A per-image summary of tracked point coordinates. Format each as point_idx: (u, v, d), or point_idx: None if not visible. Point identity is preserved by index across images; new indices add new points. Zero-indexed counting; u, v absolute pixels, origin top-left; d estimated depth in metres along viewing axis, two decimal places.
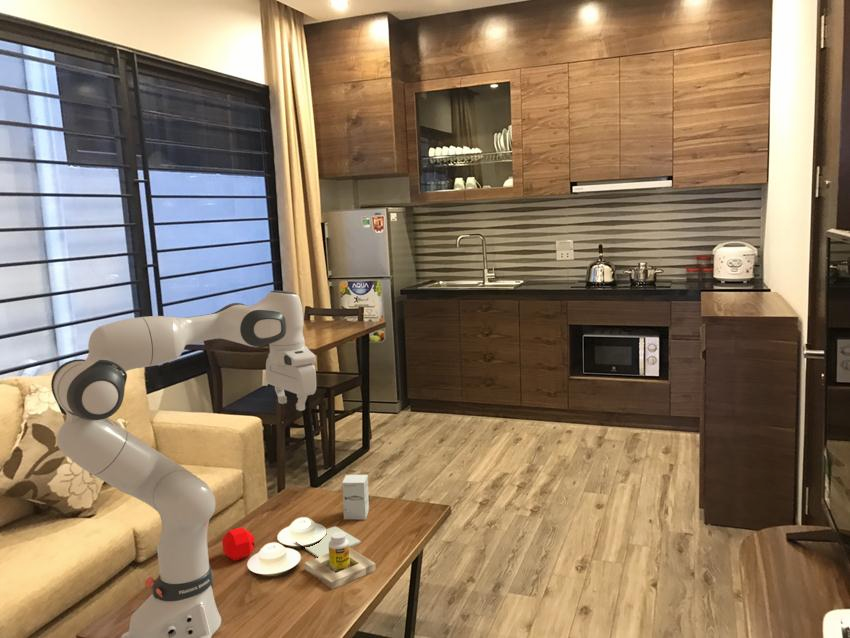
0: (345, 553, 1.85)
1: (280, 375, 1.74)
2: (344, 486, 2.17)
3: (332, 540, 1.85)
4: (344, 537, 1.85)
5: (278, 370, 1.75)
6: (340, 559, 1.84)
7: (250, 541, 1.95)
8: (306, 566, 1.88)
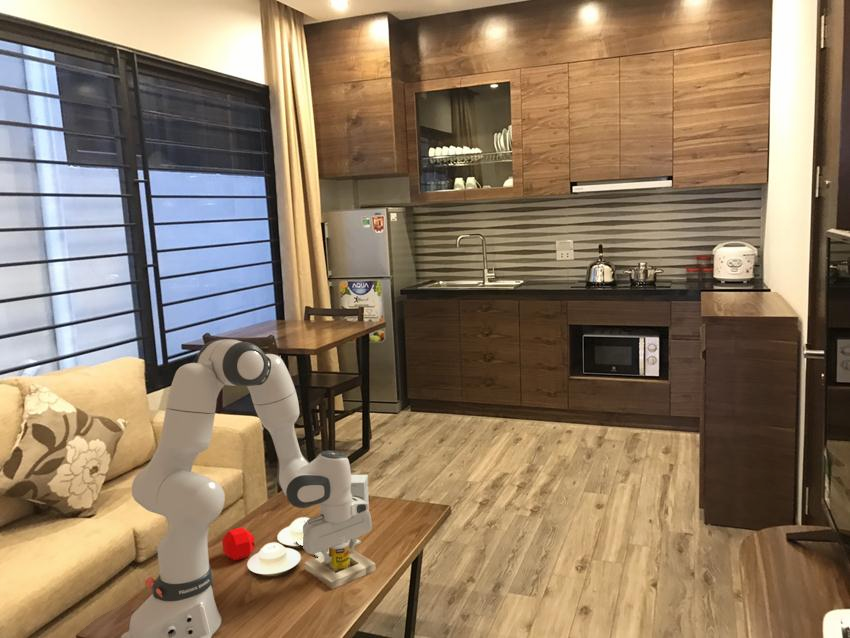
0: (345, 553, 1.85)
1: (336, 532, 1.84)
2: None
3: None
4: (344, 537, 1.85)
5: (331, 530, 1.83)
6: (340, 559, 1.84)
7: (250, 541, 1.95)
8: (306, 566, 1.88)
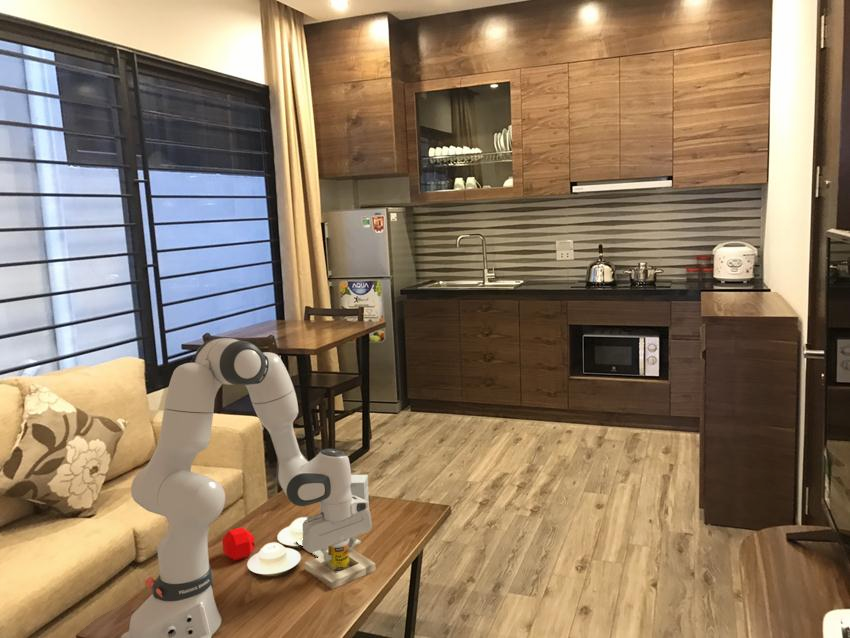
0: (344, 552, 1.84)
1: (336, 531, 1.83)
2: None
3: None
4: None
5: (331, 528, 1.82)
6: (339, 557, 1.84)
7: (250, 541, 1.95)
8: (306, 566, 1.88)
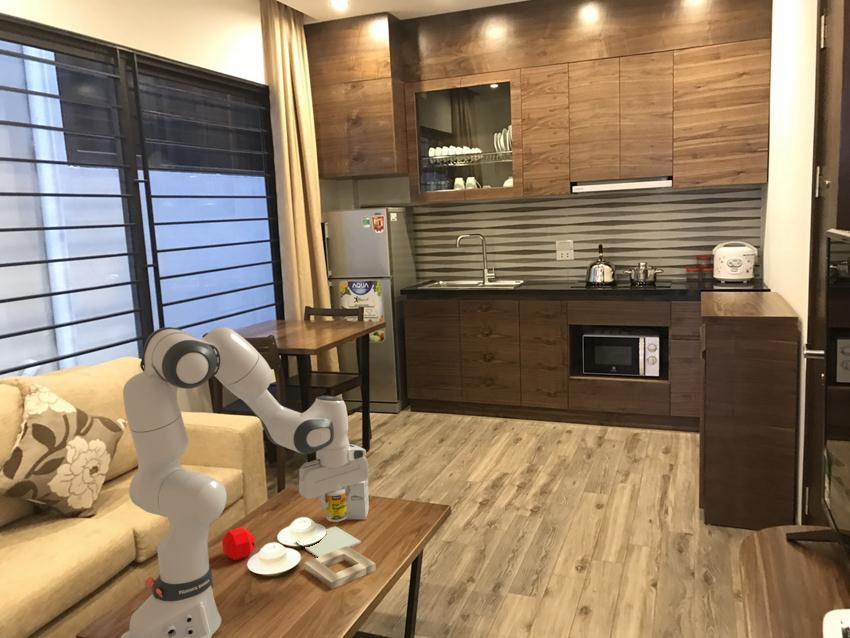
0: (341, 500, 1.83)
1: (333, 478, 1.81)
2: None
3: None
4: None
5: (328, 475, 1.80)
6: (336, 506, 1.82)
7: (250, 541, 1.95)
8: (306, 566, 1.88)
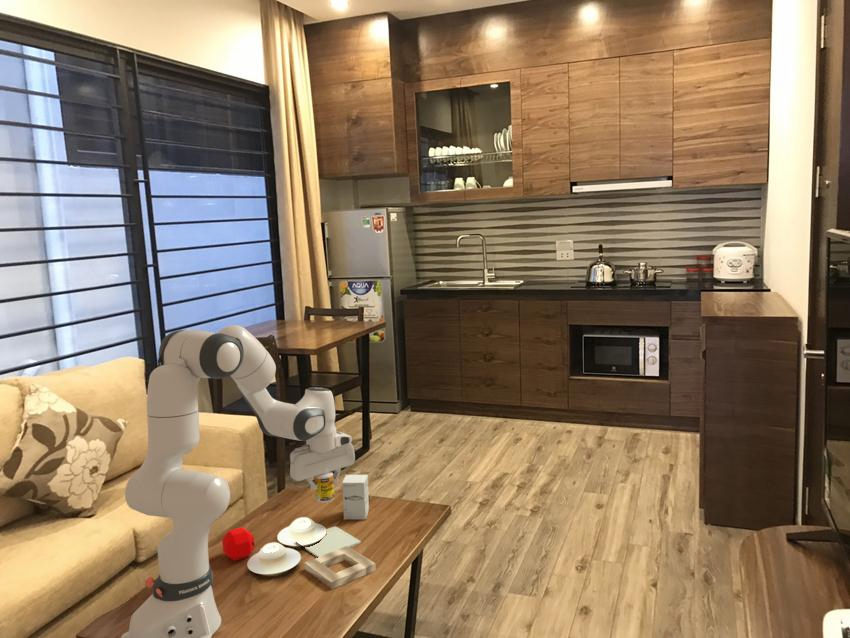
0: (329, 483, 1.99)
1: (321, 462, 1.97)
2: (344, 486, 2.17)
3: None
4: None
5: (316, 460, 1.97)
6: (324, 488, 1.98)
7: (250, 541, 1.95)
8: (306, 566, 1.88)
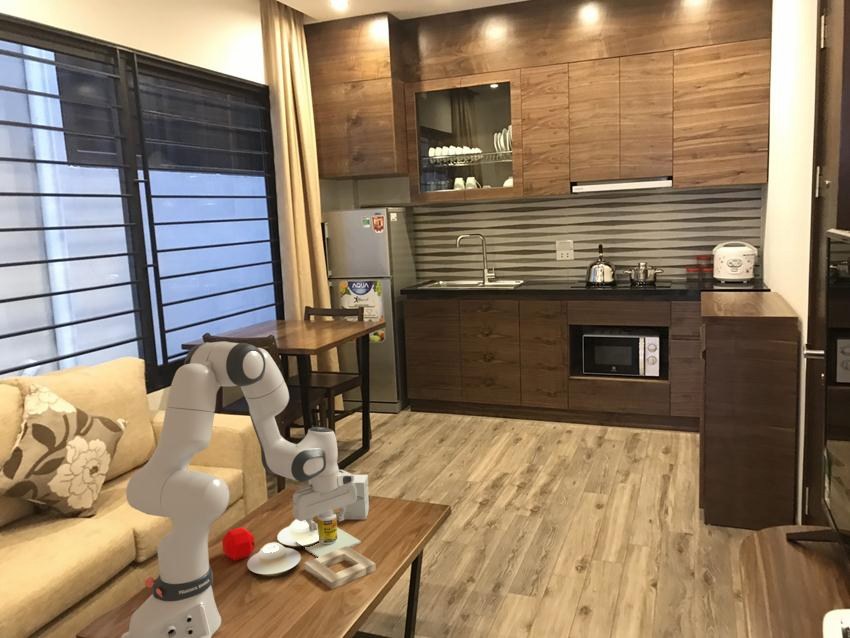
0: (332, 525, 2.01)
1: (324, 501, 1.99)
2: None
3: None
4: (331, 510, 2.01)
5: (319, 499, 1.98)
6: (328, 530, 2.00)
7: (250, 541, 1.95)
8: (306, 566, 1.88)
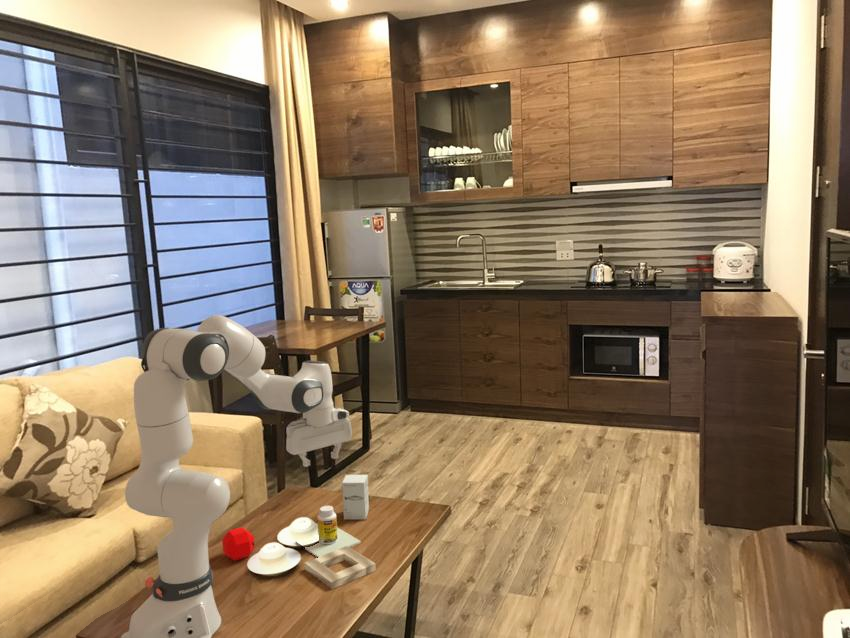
0: (332, 525, 2.01)
1: (318, 436, 1.95)
2: (344, 486, 2.17)
3: (321, 513, 2.01)
4: (331, 510, 2.01)
5: (313, 434, 1.94)
6: (328, 530, 2.00)
7: (250, 541, 1.95)
8: (306, 566, 1.88)
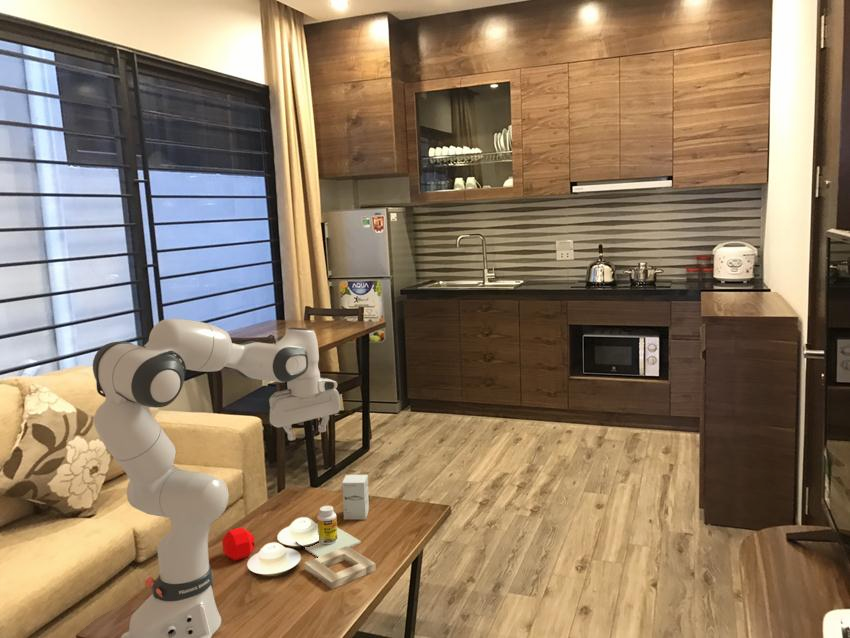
0: (332, 525, 2.01)
1: (304, 408, 1.83)
2: (344, 486, 2.17)
3: (321, 513, 2.01)
4: (331, 510, 2.01)
5: (298, 405, 1.82)
6: (328, 530, 2.00)
7: (250, 541, 1.95)
8: (306, 566, 1.88)
